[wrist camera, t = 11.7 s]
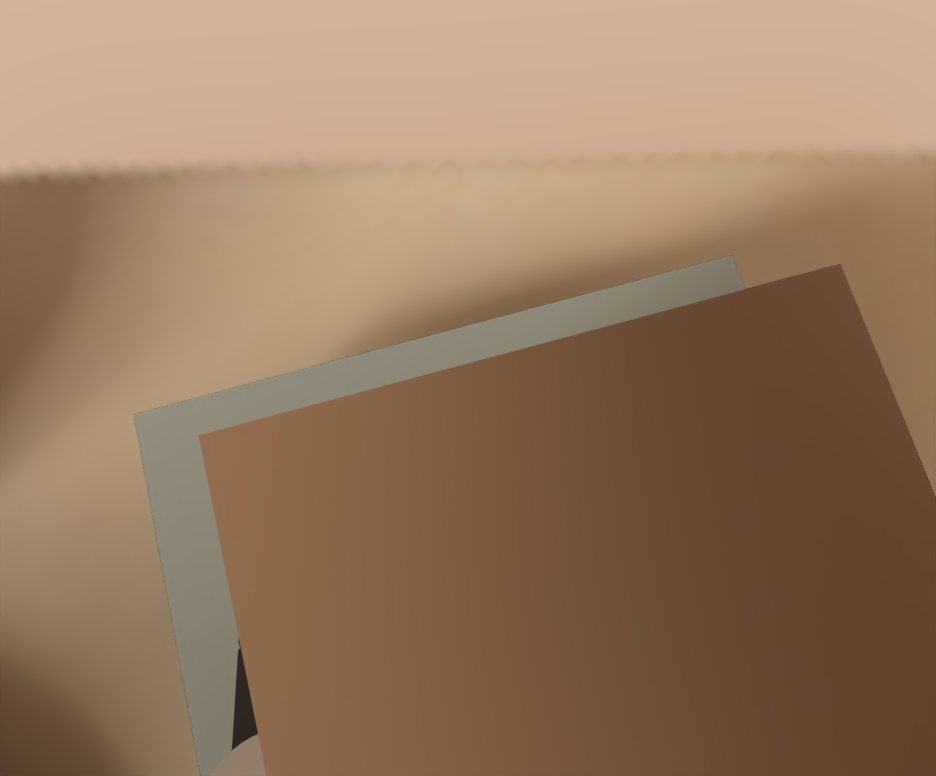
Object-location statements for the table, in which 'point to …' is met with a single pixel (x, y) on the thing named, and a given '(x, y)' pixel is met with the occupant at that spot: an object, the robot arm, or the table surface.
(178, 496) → the socket block
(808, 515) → the brown wooden bar
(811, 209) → the table surface
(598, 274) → the table surface
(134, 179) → the table surface
